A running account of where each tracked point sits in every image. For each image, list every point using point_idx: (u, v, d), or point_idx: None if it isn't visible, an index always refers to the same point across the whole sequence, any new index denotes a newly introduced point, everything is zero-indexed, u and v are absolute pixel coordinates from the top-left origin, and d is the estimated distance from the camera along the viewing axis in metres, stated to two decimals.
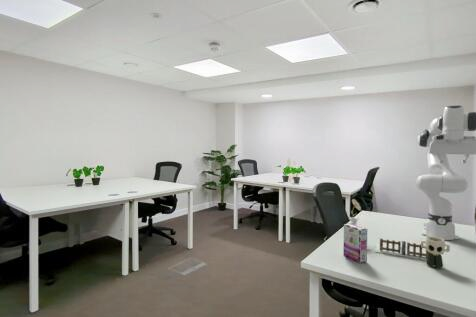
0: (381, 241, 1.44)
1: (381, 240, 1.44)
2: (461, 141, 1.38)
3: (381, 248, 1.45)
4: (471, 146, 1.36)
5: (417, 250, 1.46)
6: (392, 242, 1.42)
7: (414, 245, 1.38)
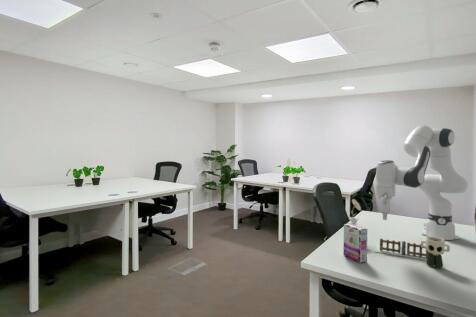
0: (381, 241, 1.44)
1: (381, 240, 1.44)
2: (381, 197, 1.37)
3: (381, 248, 1.45)
4: None
5: (417, 250, 1.46)
6: (392, 242, 1.42)
7: (414, 245, 1.38)
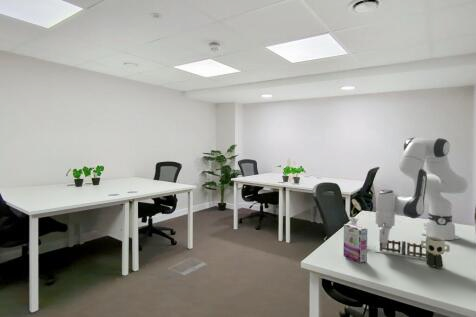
0: None
1: None
2: (380, 226, 1.40)
3: (381, 248, 1.45)
4: None
5: (417, 250, 1.46)
6: (392, 242, 1.42)
7: (414, 245, 1.38)
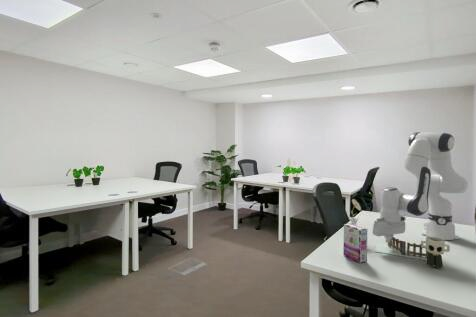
0: None
1: None
2: None
3: (388, 244, 1.50)
4: None
5: (417, 250, 1.46)
6: (395, 240, 1.45)
7: (414, 245, 1.38)
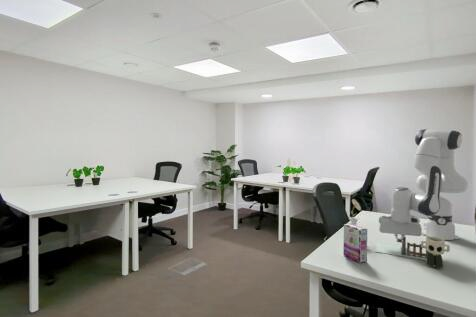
0: None
1: None
2: None
3: None
4: None
5: (417, 250, 1.46)
6: (403, 240, 1.45)
7: (414, 245, 1.38)
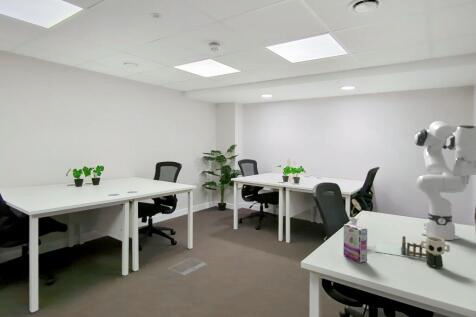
0: None
1: None
2: None
3: None
4: None
5: (417, 250, 1.46)
6: (402, 240, 1.45)
7: (414, 245, 1.38)
